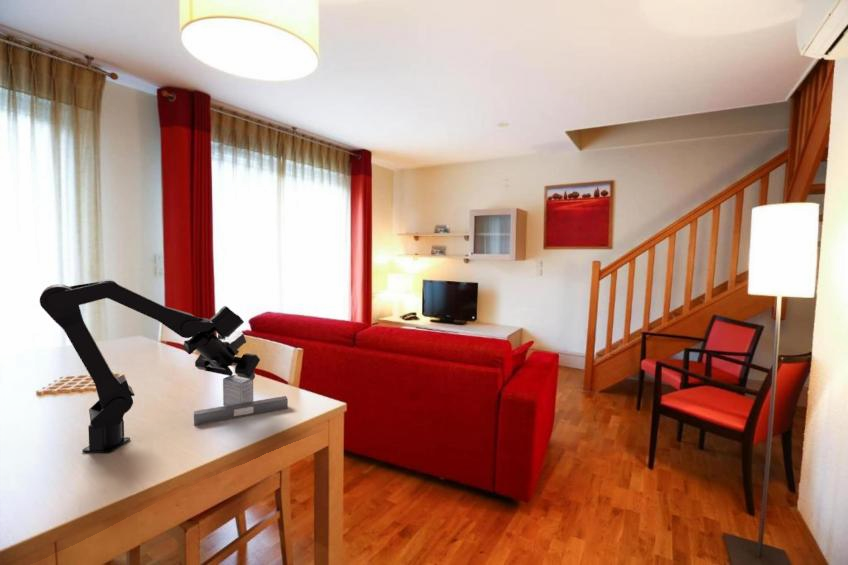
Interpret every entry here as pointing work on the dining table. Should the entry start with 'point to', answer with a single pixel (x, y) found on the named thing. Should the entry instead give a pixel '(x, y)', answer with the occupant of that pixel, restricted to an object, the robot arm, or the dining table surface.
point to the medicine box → (237, 390)
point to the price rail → (239, 410)
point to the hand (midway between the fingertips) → (242, 376)
